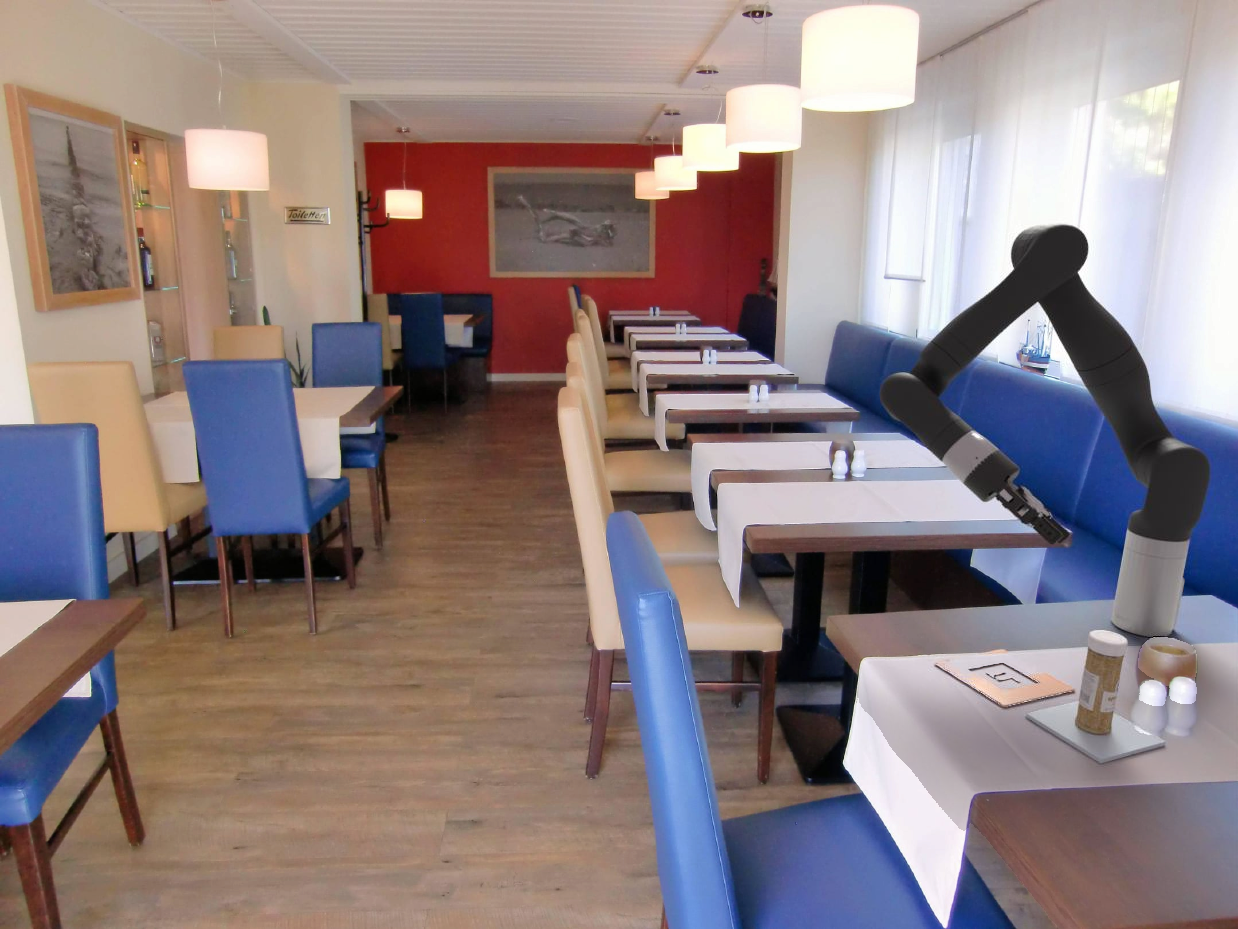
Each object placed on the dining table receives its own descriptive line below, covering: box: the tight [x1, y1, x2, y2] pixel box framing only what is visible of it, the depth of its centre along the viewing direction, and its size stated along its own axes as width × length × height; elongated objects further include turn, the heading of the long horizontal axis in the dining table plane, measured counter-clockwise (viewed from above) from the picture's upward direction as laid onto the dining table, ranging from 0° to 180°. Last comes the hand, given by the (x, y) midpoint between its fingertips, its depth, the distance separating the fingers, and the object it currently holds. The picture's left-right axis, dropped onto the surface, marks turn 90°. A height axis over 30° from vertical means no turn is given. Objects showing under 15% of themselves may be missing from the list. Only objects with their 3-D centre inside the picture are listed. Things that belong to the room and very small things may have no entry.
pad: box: [1025, 700, 1166, 765], centre depth 120 cm, size 12×12×1 cm
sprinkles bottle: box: [1075, 629, 1129, 734], centre depth 119 cm, size 5×5×14 cm
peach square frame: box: [936, 648, 1076, 708], centre depth 135 cm, size 14×14×1 cm
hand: (1062, 540), depth 133 cm, fingers open, 8 cm apart
